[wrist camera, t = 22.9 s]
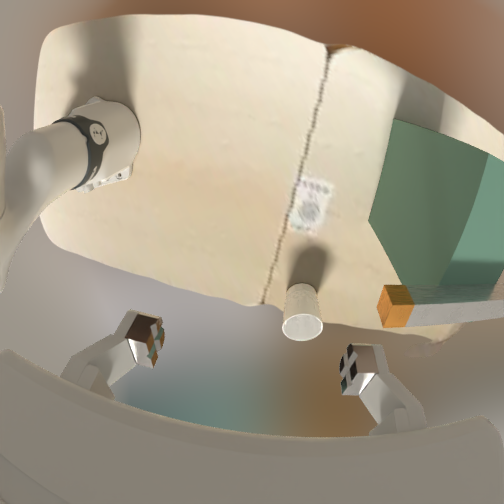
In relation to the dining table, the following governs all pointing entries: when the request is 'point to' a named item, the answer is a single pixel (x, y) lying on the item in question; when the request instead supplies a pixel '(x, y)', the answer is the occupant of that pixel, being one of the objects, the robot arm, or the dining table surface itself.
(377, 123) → the dining table surface
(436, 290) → the lever bar
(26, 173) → the robot arm
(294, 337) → the white cup
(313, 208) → the dining table surface
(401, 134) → the green box
